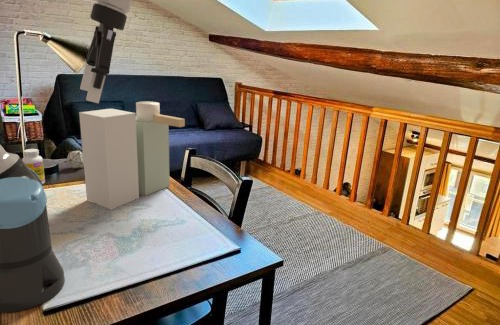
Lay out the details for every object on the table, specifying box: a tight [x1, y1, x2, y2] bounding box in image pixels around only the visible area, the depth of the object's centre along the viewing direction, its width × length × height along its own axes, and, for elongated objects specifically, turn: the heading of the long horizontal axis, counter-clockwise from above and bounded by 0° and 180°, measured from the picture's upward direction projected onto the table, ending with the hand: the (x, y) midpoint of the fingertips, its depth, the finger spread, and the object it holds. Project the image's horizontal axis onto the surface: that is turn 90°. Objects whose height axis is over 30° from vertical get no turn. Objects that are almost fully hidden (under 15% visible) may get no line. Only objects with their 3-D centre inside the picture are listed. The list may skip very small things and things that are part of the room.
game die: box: [63, 148, 84, 171], centre depth 152 cm, size 9×8×10 cm
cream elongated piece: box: [135, 100, 186, 128], centre depth 124 cm, size 20×8×6 cm, turn 58°
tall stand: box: [78, 108, 140, 210], centre depth 120 cm, size 12×12×30 cm
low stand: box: [136, 118, 171, 196], centre depth 133 cm, size 12×12×26 cm
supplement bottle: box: [21, 148, 46, 185], centre depth 132 cm, size 7×7×13 cm
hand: (88, 95), depth 88 cm, fingers open, 13 cm apart
